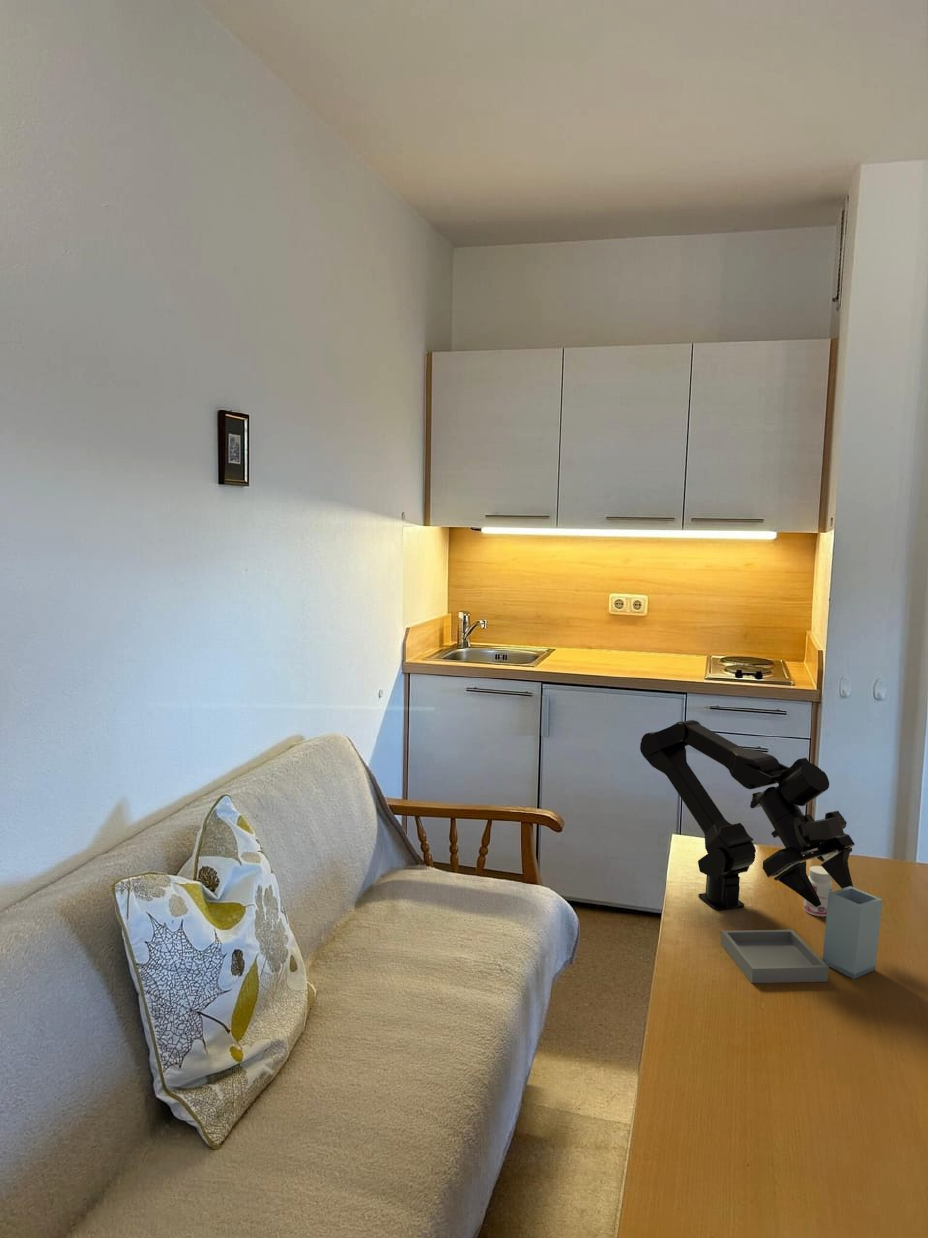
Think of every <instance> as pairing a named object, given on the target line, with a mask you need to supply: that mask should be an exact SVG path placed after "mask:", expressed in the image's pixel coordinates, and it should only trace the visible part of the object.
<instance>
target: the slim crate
mask: <svg viewBox="0 0 928 1238" xmlns="http://www.w3.org/2000/svg"><path fill="white" fill-rule="evenodd" d="M882 910H883V898H880V897H878V896H875V895H873V894H870V893H868V892H866V891H863V890H861V889H858V888H856V887H854V886H853V887H852V886H849V887H846V888H843V889H842V888H841V889H837V890H834V891H833V890H832V892H830V893H829V895H828V905H827V916H825V928H824V939H823V950H822V958H821V959H822V960H823V962H824V963H825V964H826V965H827V966H828V967H829V968H831V969H834V970H836V972H837V971H838V972H839V973H842V974H843V975H845V976H847V977H849V978H852V979H853V980H855V979H858V978H860V977H863V976H865V975H866V974H869V973H871V972H874V971H877V970H876V969H877V957H878V949H879V940H880V939H879V938H880V928H881V921H882V919H881V917H882Z"/></svg>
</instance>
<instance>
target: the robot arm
mask: <svg viewBox="0 0 928 1238" xmlns="http://www.w3.org/2000/svg"><path fill="white" fill-rule="evenodd" d="M687 746H690V747H691V748H693V749H694V750H697V751H698V752H700V753H702V754H704V755H705V756H707V757H709V758H710V759H712V760H713V761H716V762H717V763H719V764H720V765H722V766H724V768H726V769H727V770H728V771H729V774H730V776H731V777H732V778H733V779H734V780H735V781H736V782H737V783H738V784H740V785H741V786H742V787H743V788H745V789H748V790H754V789H755V790H756V789H760V788H765V787H766V788H765V790H763V791H759V792H754V793H752V797H751V800H750V803H749V804H750V805H749V806H750V809H755V808H760V807H761V809H762V810H763V812H764V813H765V815H766V817H767V819H768V821H769V823H770V824H771V826H772V827H773V829H774V830H773V831H771V833H770V834H771V836H772V837H773V839H776V838H779V839H780V841H781V843H782V844H783V846H784V848H782V849H778V850H777V851H776V852H774V853H772V854H771V855H769V856H768V857H767V858H765V859H764V860H763V861H762V870H763V871H764V874H765V875H766V877H767V878H768V879H769V878H772V877H774V878H773V880H774V881H779V882H780V883H782V884H783V885H784V886H787V888H790V889H791V890H792V891H794V892H795V893H796V894H798V895H799V896H801V897H802V898H803V900H804V899H806V900H807V901H808V902H810V903H811V904H812V905H814V906H815V907H819V906H820V905H821V902H820V900H819V897H818V895H817V893H816V891H815V889H814V887H813V885H812V884H811V882H810V880H809V878H808V877H809V875H808V874H807V861H809V860H813V859H816V858H817V860H819V861H820V862H822V863H821V864H820V866H821V867H823V868H824V869H825V870H826V872H827V873H828V874H829V875H830V876H831V879H832V880H833V881H834V882H836V883H837V885H838V886H839V887H840V888H841V889H843V888H846V887H849V886H852V887H854V884H853V880H852V877H851V873H850V869H849V859H850V858H849V857H850V854H851V853H853V847H854V846H855V844H856V843H855V842H854V840H853V839H852V837H851V836H850V834H847V833H845V832H844V829H846V827H847V823H848V822H847V821H846V819H845V817H844V816H843V815H842V814H841V813H840V811H839V810H834V811H829V812H825V815H824V818H821V819H817V820H815V819H814V817H813V815H811V814H810V813H808V814H804V813H803V811H802V810H801V808H800V807H806V805H808V804H809V803H811V802H812V801H814V800H815V799H816V798H818V797H819V796H821V795H822V794H824V792H826V791H827V790H829V788H830V780H829V777H828V775H827V773H826V772H825V771H824V770H822V769H821V768H820V767H819V766H817V765H816V764H814V763H811V762H810V761H809V760H808V759H809V758H806V757H802V758H797V760H795V761H794V762H793V763H792V764H791V766H788V765H784V764H783V763H780V762H779V760H778V759H777V757H775V756H774V755H772V754H769V753H766V752H763V751H760V750H756V749H749V748H745V747H742V746H739V745H738V744H736V743H734V742H732V741H730V740H729V739H727V738H725V737H723V736H721V735H720V734H718V733H716V732H715V731H712V730H711V729H709V728H707V727H706V726H704V725H701V723H700V722H699V721H698V720H695V719H690V720H689V719H688V720H682V721H681V720H680V721H677V722H676V723H674V724H672V725H671V726H667V727H666V728H664V729H660V730H658V731H651V732H647V733H645V734H643V736H642V737H641V740H640V745H639V750H640V753H641V754H642V756H643V758H644V759H645V760H646V761H647V762H648V764H649V765H650V766H651V767H652V768H654V769H656V770H658V771H659V772H661V773H663V774H664V775H666V777H667V779H668V780H669V782H670V784H671V785H672V786H673V788H674V789H675V791H676V792H677V794H678V795H679V797H680V798H681V800H682V803H684V805H685V807H686V808H687V810H689V812H690V814H691V815H692V817H693V818H694V820H695V821H696V823H697V825H698V826H699V828H700V829H701V831H702V832H703V834H704V849H705V851H706V853H707V854H705V855H703V857H701V858H699V859H698V860H697V864H698V869H699V872H700V873H702V874H704V875H706V881H705V892H702V893H698V898H699V899H701V900H702V901H704V902H705V903H706V904H708V905H709V906H710V907H711V908H713V909H714V910H716V911H722V910H728V909H730V910H731V909H736V908H738V909H739V908H745V903H744V902H743V901H742V900H740V890H741V886H740V881H741V880H740V879H741V877H740V875H739V874H742V873H747V872H748V870H749V869H750V866H751V865H753V864H754V862H755V860H756V852H757V850H756V847H755V845H754V842H753V841H754V838H753V837H751V836H750V835H749V833H748V832H747V830H746V827H745V826H744V825H743V824H742V823H741V822H738V823H737V822H736V823H734V824H732V823H730V822H729V821H728V820H727V819H726V818H725V816H724V815H723V814H722V812H721V811H720V809H719V808H718V807H717V805H716V804H715V802H714V800H713V799H712V798H711V796H710V794H709V793H708V791H707V790H706V788H705V787H704V786H703V784H702V783H701V781H700V780H699V779H698V777H697V775H696V774H695V773H694V771H693V769H692V768H691V767H690V765H689V764H688V762H687V759H688V757H687V749H686V747H687ZM776 784H778V785H777V786H773V785H776ZM769 786H770V787H769Z"/></svg>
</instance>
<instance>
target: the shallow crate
mask: <svg viewBox="0 0 928 1238" xmlns="http://www.w3.org/2000/svg"><path fill="white" fill-rule="evenodd" d="M720 933H721V934H720V945H721V947H722V948H723V949H724V950H725V951H726V953H727V954H728V955H729V957H730V958H731V960H733V962H734V963H735V964H736V966H737V967H738V968H739V969H740V971H741V972H742V974H743V975H744V976H745V977H746V978H747V980H749V982H750V983H751V984H777V983H815V982H816V983H818V982H821V983H822V982H829V973H830V970H829V969H830V967H829V966H827V965H826V964H825V963H824V962H823V960H822V959H823V958H821V957H820V956H819V955H818V954H817V953H816V952H815V951H814V950H813V949H812V948H811V947H810V946H809V945H808V944H807V942H805V941H804V940H803V939H802V938H801V937H800V936H799V935H798V934H797V933H796V932H795V931H794V930H793V929H755V930H753V929H751V930H750V929H748V930H747V929H746V930H744V929H743V930H742V929H741V930H721V932H720Z"/></svg>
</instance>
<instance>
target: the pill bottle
mask: <svg viewBox="0 0 928 1238" xmlns="http://www.w3.org/2000/svg"><path fill="white" fill-rule="evenodd" d="M808 878H809V880H810V882H811V884H812V885H813V887H814V889H815V891H816V893H817V895H818V897H819V900H820V902H821V905H820V906H819V907H815V906H814V905H812V904H811V903H810V902H808V901H807V900H806V899H804V898H803V900H804V901H803V910H804V911H805V913H807V914H808V915H812V916H814V917H815V916H816V917H820V916H821V917H823V918H824V917H826V916H827V905H828V895H829V893H830V892H833V885H834V884H833V881H832V877H831V876H830V875H829V874H828V873H827V872H826V870H825V869H824V868H823V867H822V866H821V865H820V866H819V865H812V866H810V867H809V871H808Z"/></svg>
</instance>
